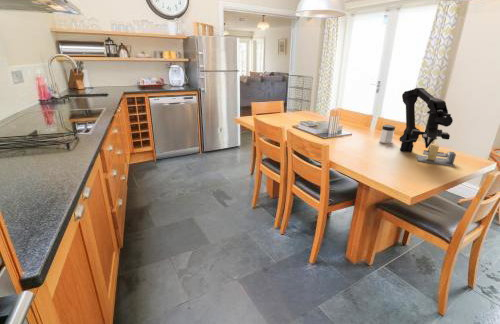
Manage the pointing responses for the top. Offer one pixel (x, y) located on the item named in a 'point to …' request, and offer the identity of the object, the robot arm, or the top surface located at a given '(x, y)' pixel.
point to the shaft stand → (440, 161)
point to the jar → (387, 133)
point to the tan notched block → (432, 151)
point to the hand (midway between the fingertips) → (426, 148)
